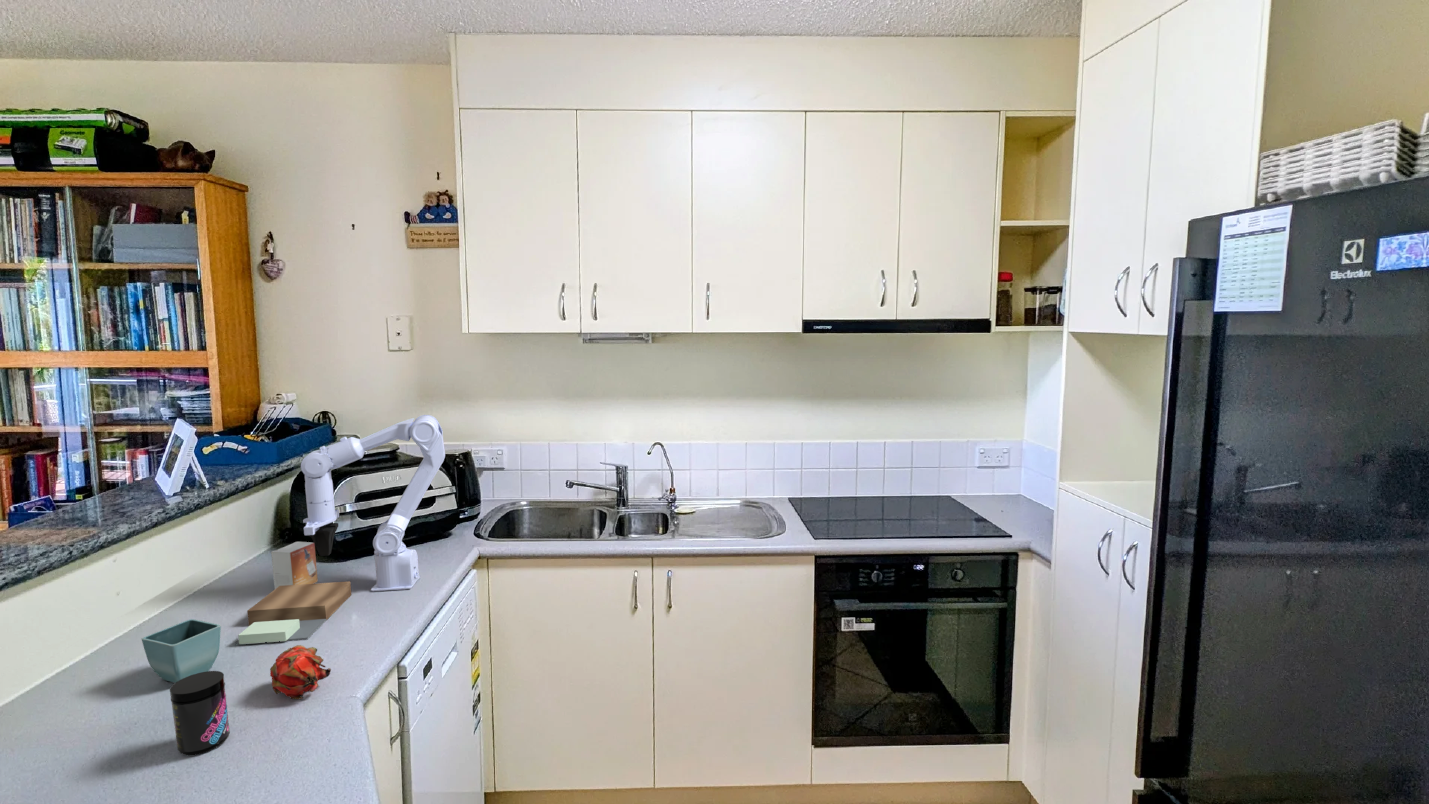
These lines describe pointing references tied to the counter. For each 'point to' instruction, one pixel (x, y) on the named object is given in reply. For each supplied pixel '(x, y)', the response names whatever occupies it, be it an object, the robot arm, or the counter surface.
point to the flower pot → (183, 649)
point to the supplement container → (200, 712)
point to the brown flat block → (300, 602)
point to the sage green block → (269, 631)
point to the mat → (304, 629)
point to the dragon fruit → (297, 671)
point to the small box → (294, 564)
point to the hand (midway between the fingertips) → (325, 554)
